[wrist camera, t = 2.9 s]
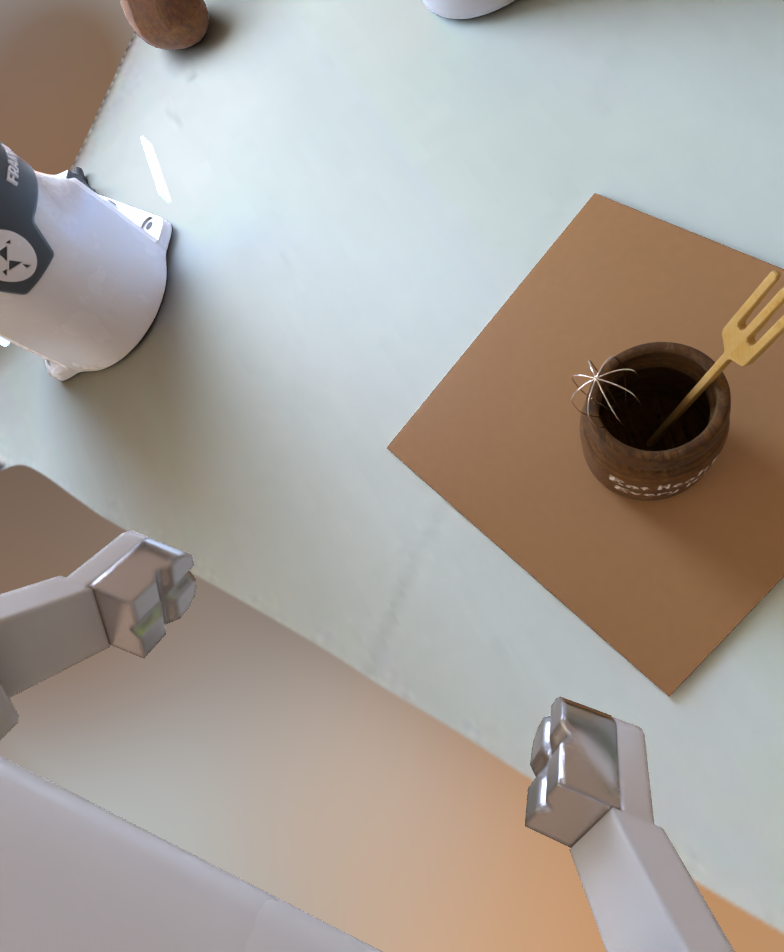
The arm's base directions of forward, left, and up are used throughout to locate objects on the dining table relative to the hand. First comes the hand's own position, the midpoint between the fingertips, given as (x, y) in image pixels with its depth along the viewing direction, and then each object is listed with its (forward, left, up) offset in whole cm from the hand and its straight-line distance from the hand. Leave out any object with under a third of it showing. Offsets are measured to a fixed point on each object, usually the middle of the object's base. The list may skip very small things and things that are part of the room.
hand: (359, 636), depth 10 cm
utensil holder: (0, +11, -18) cm, 21 cm away
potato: (-64, +21, -18) cm, 70 cm away
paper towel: (-2, +12, -18) cm, 22 cm away
